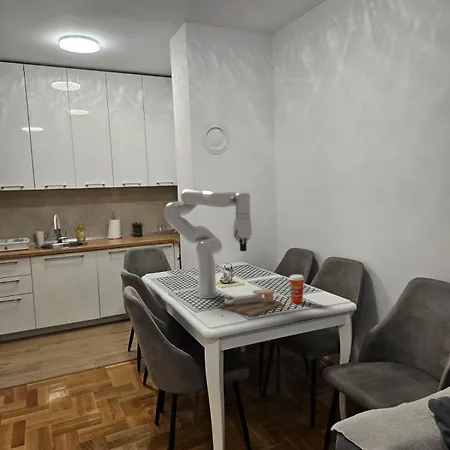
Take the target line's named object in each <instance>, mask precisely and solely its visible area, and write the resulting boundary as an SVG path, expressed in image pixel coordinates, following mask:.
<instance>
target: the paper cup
mask: <svg viewBox="0 0 450 450" xmlns="http://www.w3.org/2000/svg"><path fill="white" fill-rule="evenodd" d="M288 279H289V288H290V300H291V304H294V305H301V304H302V303H303V297H304V280H305V277H304V275H303V274H292V275H289V278H288Z"/></svg>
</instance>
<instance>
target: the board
mask: <svg viewBox="0 0 450 450" xmlns="http://www.w3.org/2000/svg"><path fill="white" fill-rule="evenodd" d="M280 306H282V301H278V300H277V301H276V300H273V302H267V301H266V300H264V297H263V301H262V302H254V303H246V304H239V305H233V306H226V305H225V302H224V303H221V304H219V305H218V307H217V308H218V309H221V310H225V311H229V312H232V313H236V314H240V315H244V316H246V317H247V316H248V317H250V318H253V317H256V316H258V315H261V314H263V313H265V312H267V310H268V311H270V310H272V308H273V309H275V308H278V307H280ZM260 313H261V314H260Z"/></svg>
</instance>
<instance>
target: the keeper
mask: <svg viewBox="0 0 450 450" xmlns="http://www.w3.org/2000/svg"><path fill="white" fill-rule="evenodd" d="M252 293H253V294H254V295H255V294H256V295H262V296H263V298H264V300H266V301H267V302H273V301H274V294H275V290H273V289H271V288H266V289H265V288H264V289H256V290H254V289H253V290H252Z"/></svg>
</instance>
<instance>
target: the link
mask: <svg viewBox="0 0 450 450" xmlns="http://www.w3.org/2000/svg"><path fill="white" fill-rule="evenodd" d="M263 298H264V295H256V294H255V293H254V294H248V295H240V296H227V297H224V303H225V305H226V306H233V305H239V304H246V303H254V302H262V301H263Z"/></svg>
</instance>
